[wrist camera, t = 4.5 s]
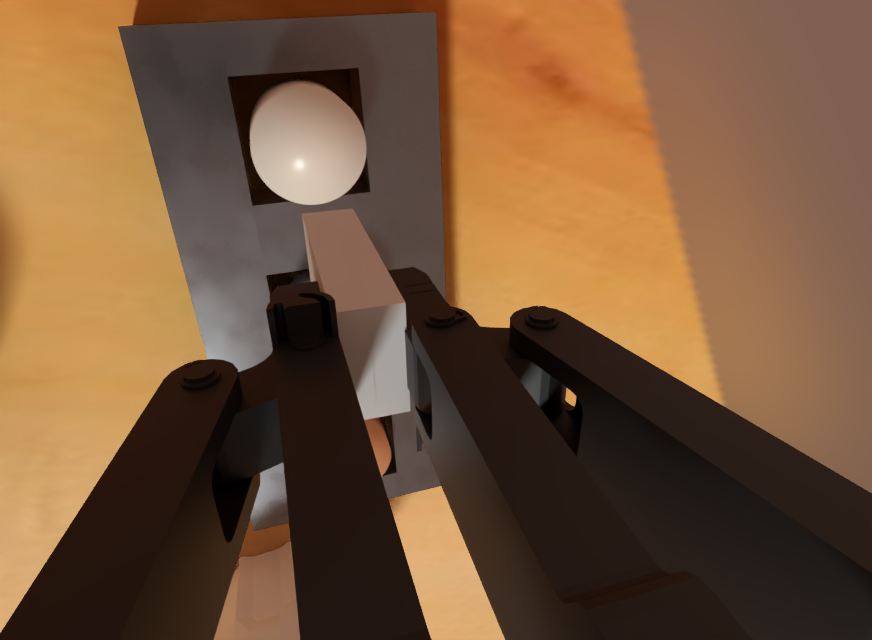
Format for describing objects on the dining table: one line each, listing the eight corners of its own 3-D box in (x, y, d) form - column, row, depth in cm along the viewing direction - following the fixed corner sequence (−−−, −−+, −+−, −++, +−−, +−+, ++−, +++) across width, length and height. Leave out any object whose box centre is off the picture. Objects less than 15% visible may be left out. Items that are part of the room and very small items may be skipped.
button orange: (300, 399, 33) (305, 438, 30) (375, 384, 34) (388, 421, 31) (311, 457, 35) (317, 499, 32) (381, 442, 36) (394, 481, 33)
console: (131, 25, 23) (118, 26, 21) (417, 12, 26) (436, 11, 24) (253, 494, 36) (254, 530, 33) (438, 452, 39) (452, 483, 36)
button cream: (240, 82, 24) (239, 92, 21) (346, 74, 25) (360, 83, 22) (259, 187, 26) (262, 211, 23) (357, 176, 27) (371, 198, 24)
